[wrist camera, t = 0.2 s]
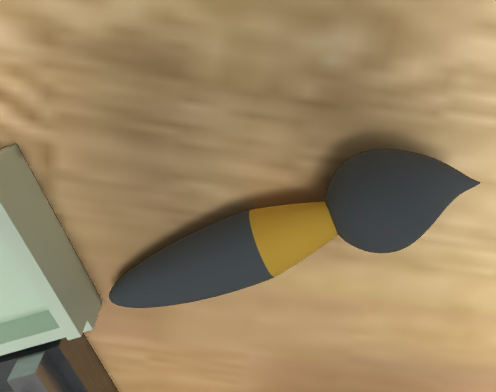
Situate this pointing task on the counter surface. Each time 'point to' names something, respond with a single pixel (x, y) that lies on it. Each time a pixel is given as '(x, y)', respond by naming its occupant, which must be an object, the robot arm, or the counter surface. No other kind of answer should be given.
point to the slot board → (55, 368)
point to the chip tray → (37, 266)
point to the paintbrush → (299, 230)
